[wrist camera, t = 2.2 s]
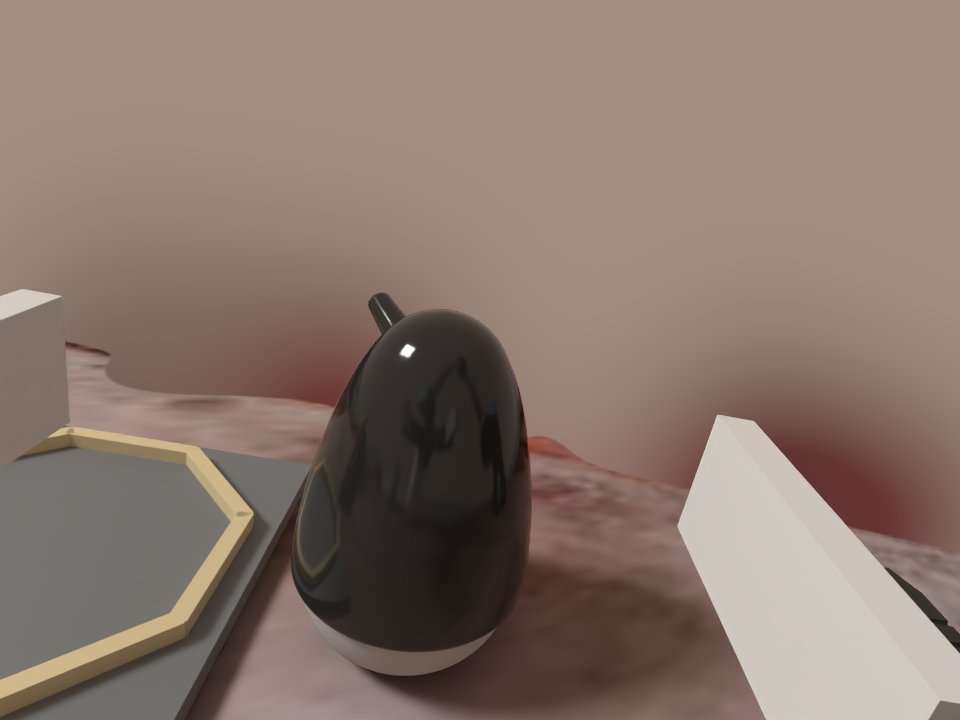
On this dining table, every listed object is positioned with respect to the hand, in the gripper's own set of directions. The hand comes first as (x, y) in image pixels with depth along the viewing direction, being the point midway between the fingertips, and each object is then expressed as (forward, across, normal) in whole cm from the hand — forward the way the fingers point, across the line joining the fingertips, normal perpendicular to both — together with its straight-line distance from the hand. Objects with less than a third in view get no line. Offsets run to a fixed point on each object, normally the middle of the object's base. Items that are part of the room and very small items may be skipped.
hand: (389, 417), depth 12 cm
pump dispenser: (+11, +1, -16) cm, 20 cm away
